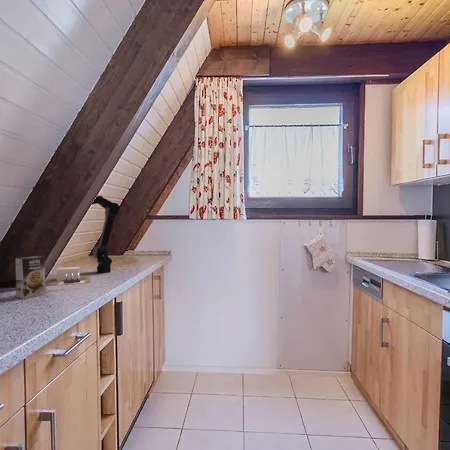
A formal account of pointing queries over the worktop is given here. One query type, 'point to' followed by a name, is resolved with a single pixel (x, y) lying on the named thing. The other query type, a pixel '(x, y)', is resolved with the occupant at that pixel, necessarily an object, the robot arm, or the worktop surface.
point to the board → (54, 282)
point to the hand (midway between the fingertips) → (53, 257)
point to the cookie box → (30, 276)
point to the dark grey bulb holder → (72, 279)
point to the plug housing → (68, 271)
